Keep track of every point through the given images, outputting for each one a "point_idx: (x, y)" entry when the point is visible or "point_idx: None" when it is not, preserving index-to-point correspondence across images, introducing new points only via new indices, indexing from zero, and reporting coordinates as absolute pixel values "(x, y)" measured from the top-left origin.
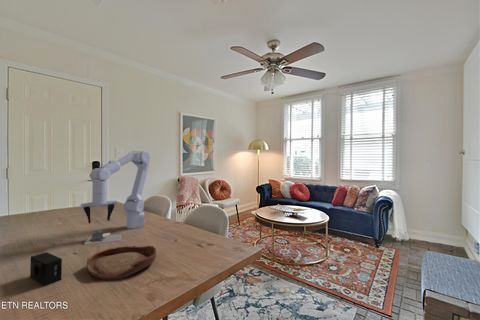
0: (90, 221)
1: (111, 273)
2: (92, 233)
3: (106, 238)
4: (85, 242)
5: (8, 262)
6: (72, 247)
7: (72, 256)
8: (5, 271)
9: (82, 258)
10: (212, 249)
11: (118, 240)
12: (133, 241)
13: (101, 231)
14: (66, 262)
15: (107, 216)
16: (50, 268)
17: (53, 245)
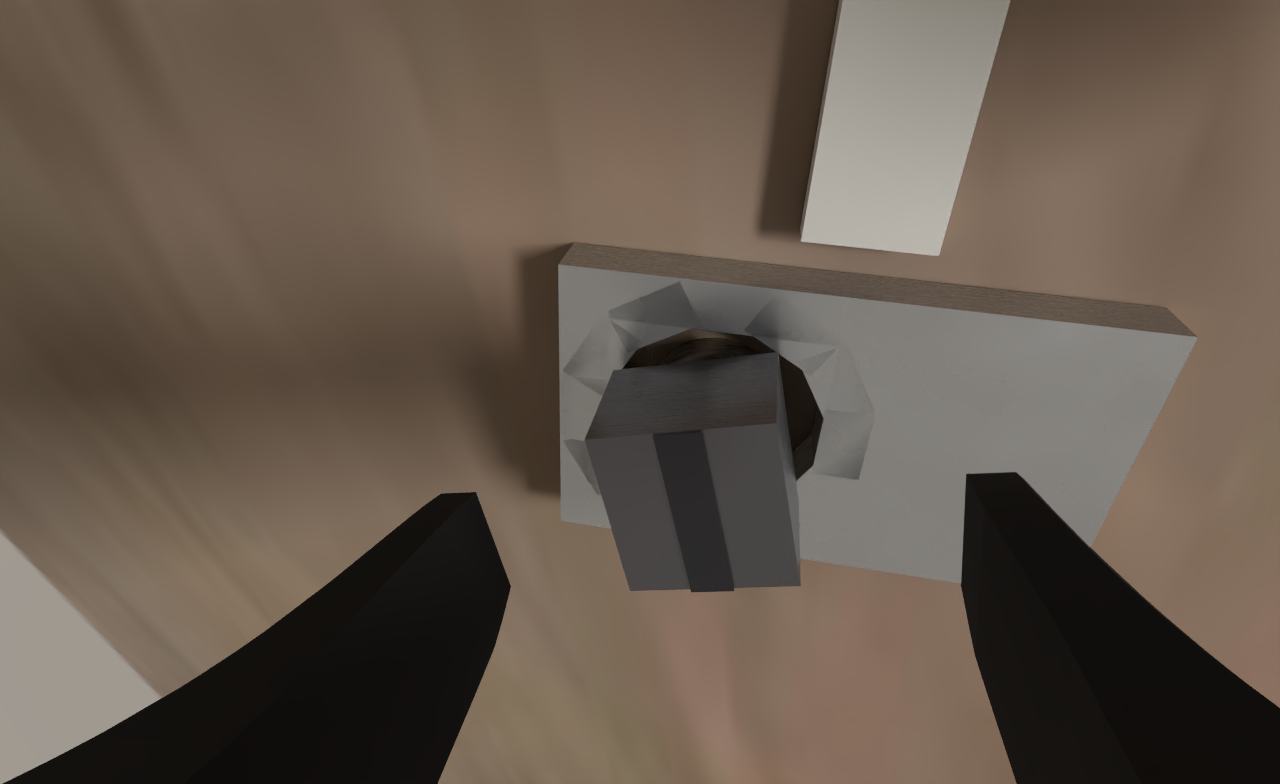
0: (495, 633)
1: None
2: (629, 570)
3: (863, 467)
4: (566, 495)
5: (37, 549)
6: (431, 440)
7: (522, 677)
8: (158, 690)
9: (621, 751)
10: None
11: None
12: (1246, 608)
13: (780, 539)
14: (513, 755)
15: (1002, 570)
16: None
17: (133, 236)
